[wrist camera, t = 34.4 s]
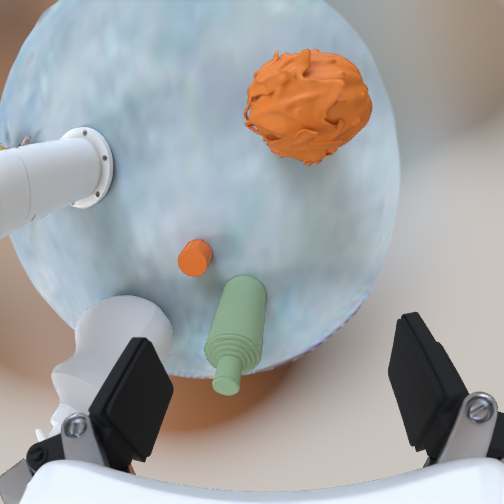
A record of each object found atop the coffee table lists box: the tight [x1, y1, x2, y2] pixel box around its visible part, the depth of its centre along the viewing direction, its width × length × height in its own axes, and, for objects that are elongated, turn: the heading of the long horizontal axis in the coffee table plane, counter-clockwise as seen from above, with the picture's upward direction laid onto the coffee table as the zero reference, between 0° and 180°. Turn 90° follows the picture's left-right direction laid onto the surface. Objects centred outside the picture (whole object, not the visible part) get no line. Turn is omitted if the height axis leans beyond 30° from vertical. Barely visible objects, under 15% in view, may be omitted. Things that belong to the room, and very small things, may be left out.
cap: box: [178, 240, 212, 277], centre depth 38 cm, size 4×4×4 cm
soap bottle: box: [36, 295, 173, 442], centre depth 32 cm, size 17×12×29 cm
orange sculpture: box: [244, 49, 372, 166], centre depth 23 cm, size 11×11×18 cm
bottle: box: [204, 275, 266, 395], centre depth 34 cm, size 6×6×18 cm
